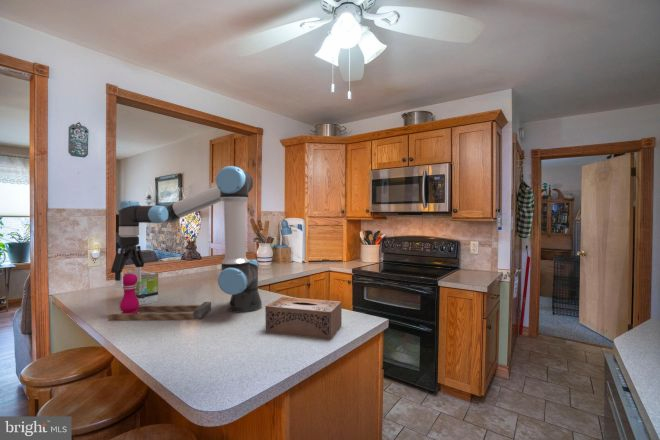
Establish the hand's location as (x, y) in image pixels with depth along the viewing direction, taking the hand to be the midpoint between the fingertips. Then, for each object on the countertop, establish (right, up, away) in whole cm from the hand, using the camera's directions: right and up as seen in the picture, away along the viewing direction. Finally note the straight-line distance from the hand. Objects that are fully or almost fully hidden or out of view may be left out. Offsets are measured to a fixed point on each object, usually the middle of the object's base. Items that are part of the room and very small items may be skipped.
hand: (128, 284), depth 138 cm
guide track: (+13, -14, +1) cm, 19 cm away
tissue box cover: (+78, -14, -16) cm, 81 cm away
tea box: (-9, -14, +24) cm, 29 cm away
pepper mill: (0, -14, 0) cm, 14 cm away
